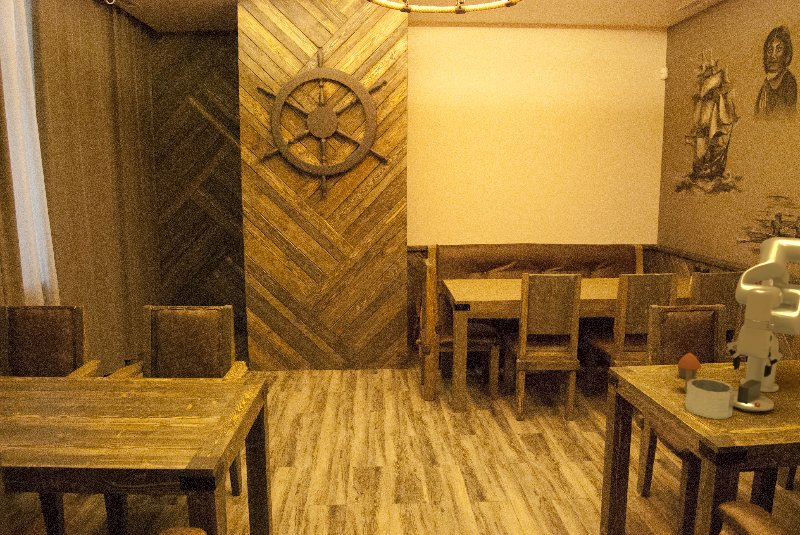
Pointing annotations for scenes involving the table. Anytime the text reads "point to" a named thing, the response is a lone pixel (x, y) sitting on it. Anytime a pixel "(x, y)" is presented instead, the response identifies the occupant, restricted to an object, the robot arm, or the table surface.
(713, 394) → the pot
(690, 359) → the mushroom
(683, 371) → the vase
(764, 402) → the lid
